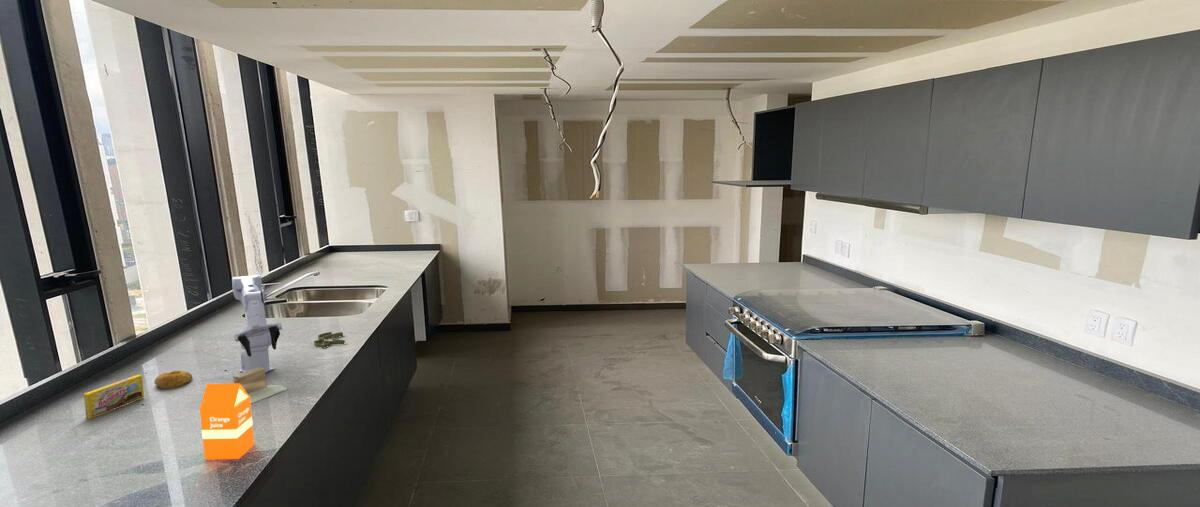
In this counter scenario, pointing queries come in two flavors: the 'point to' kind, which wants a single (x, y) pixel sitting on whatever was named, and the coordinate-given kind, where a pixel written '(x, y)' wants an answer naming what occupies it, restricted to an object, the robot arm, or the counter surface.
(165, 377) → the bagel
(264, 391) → the sage mat
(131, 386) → the candy box
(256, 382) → the maple tile
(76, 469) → the counter surface
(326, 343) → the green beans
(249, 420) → the orange juice
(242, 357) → the robot arm
